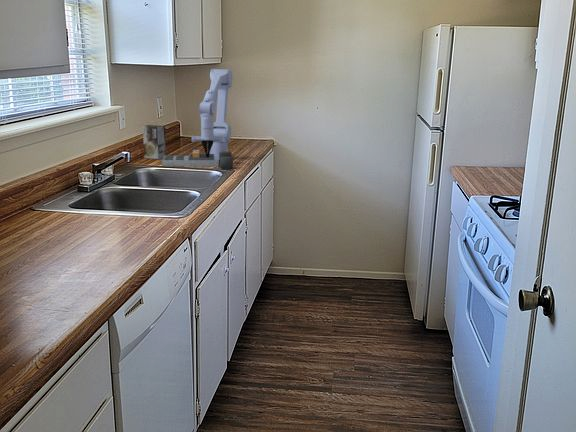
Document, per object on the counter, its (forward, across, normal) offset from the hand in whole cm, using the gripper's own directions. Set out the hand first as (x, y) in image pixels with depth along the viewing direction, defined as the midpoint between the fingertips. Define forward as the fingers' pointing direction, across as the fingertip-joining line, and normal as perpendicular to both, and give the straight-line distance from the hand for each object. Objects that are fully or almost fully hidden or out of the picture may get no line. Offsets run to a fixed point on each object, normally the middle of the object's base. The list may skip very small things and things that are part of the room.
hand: (207, 156), depth 274 cm
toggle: (+1, -5, 0) cm, 5 cm away
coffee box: (+4, -26, +21) cm, 34 cm away
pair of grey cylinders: (+4, +9, 0) cm, 9 cm away
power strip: (+4, -8, +3) cm, 9 cm away
